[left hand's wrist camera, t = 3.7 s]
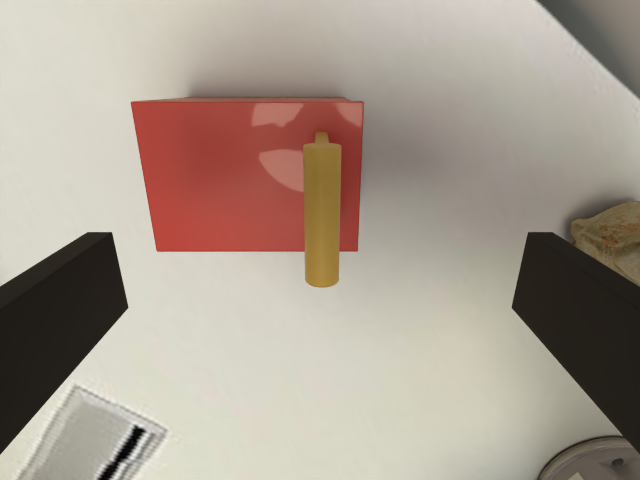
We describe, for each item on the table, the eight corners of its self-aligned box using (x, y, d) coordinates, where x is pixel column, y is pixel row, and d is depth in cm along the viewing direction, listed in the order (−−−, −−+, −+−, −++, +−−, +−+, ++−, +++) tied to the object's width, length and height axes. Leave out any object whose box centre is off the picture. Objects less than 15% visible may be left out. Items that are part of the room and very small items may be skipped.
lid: (362, 101, 23) (385, 108, 15) (356, 246, 26) (372, 315, 18) (137, 101, 23) (39, 108, 15) (161, 246, 26) (93, 315, 18)
